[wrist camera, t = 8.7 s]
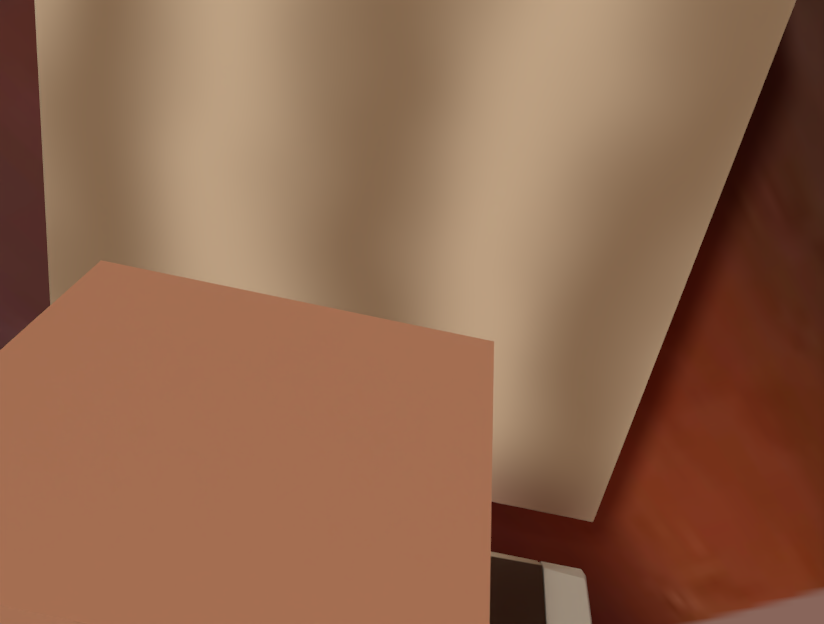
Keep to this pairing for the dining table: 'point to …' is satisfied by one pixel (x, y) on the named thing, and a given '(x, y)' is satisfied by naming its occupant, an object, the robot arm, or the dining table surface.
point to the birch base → (419, 177)
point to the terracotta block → (240, 461)
